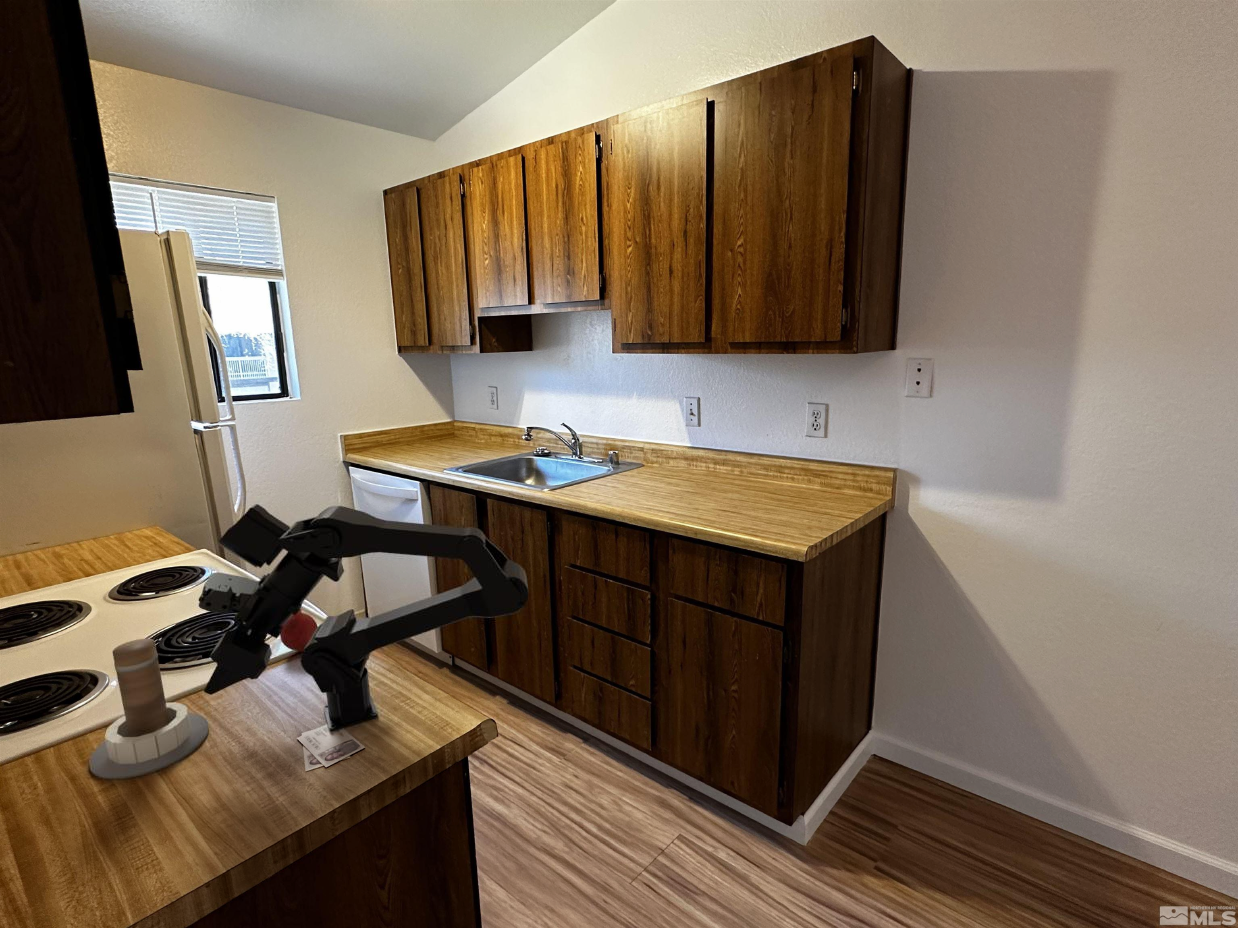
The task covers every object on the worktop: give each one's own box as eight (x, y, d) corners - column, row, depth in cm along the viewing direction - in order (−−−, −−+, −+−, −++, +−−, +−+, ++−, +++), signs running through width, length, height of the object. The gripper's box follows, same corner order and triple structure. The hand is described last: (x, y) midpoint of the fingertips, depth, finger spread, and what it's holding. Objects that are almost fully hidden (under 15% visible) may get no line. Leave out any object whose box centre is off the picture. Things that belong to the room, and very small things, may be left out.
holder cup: (208, 754, 83) (204, 730, 82) (81, 793, 76) (75, 767, 75) (209, 706, 94) (205, 684, 93) (98, 736, 87) (93, 712, 86)
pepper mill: (177, 739, 85) (160, 644, 82) (137, 756, 82) (118, 659, 79) (165, 726, 88) (148, 635, 85) (126, 743, 84) (107, 648, 81)
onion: (304, 661, 106) (299, 617, 104) (275, 658, 107) (269, 614, 105) (327, 644, 112) (322, 602, 110) (298, 641, 113) (293, 600, 111)
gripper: (249, 529, 91) (183, 611, 92) (211, 586, 74) (129, 687, 75) (318, 568, 96) (255, 646, 96) (297, 631, 79) (219, 725, 79)
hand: (217, 672), depth 86 cm, fingers open, 9 cm apart
